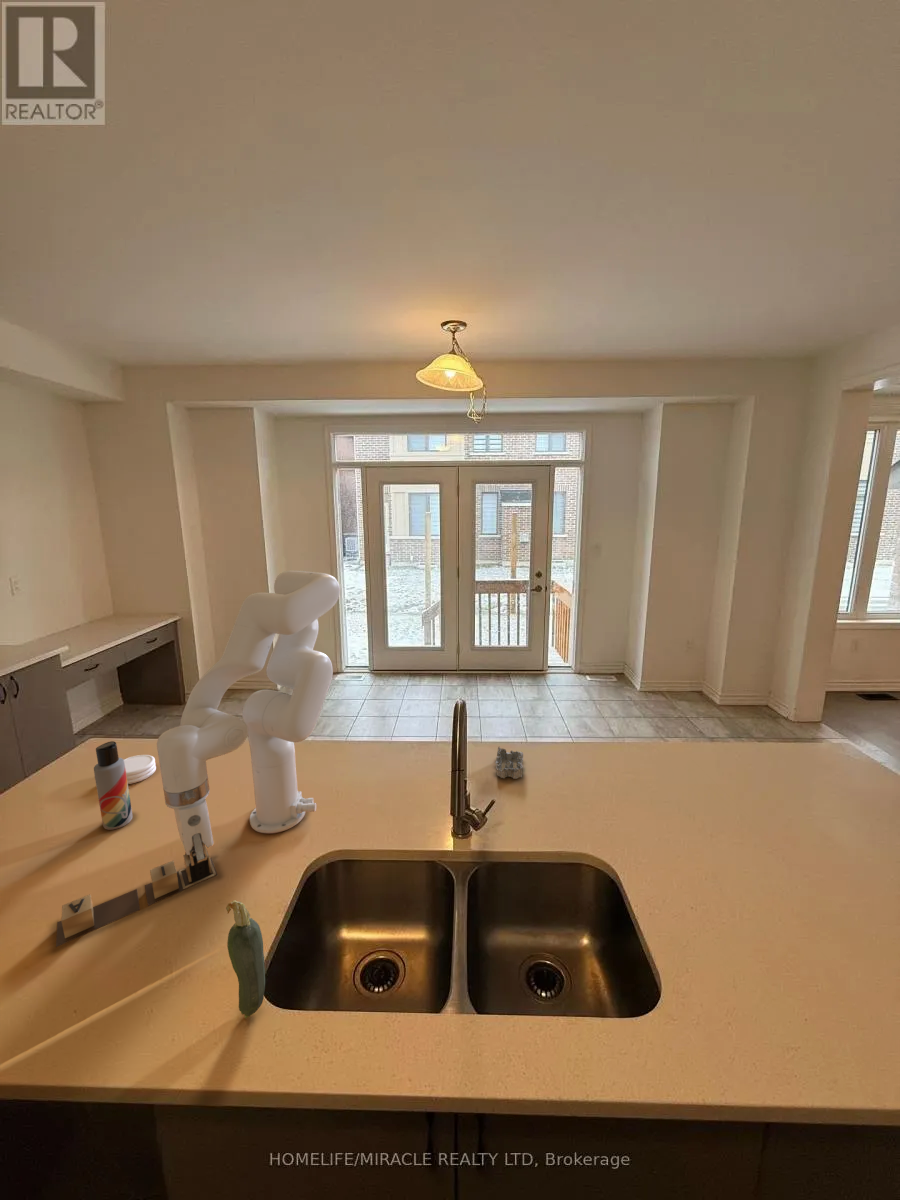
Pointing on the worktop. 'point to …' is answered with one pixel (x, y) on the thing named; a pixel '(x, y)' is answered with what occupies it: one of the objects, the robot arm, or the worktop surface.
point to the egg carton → (509, 763)
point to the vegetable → (247, 958)
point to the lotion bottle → (112, 787)
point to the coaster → (139, 768)
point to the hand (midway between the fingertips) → (198, 870)
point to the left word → (93, 915)
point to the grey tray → (170, 881)
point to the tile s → (187, 862)
